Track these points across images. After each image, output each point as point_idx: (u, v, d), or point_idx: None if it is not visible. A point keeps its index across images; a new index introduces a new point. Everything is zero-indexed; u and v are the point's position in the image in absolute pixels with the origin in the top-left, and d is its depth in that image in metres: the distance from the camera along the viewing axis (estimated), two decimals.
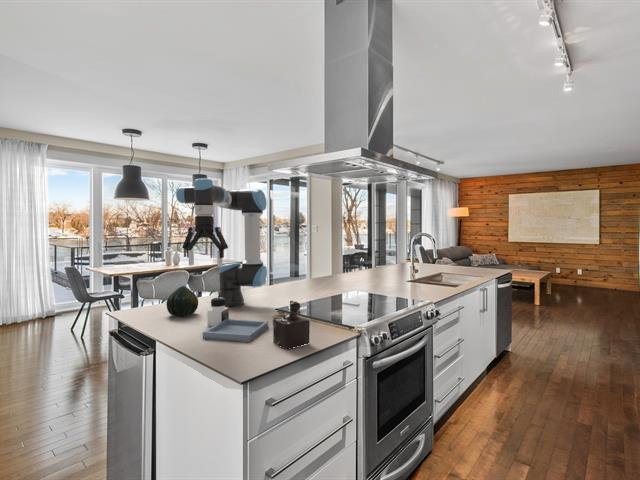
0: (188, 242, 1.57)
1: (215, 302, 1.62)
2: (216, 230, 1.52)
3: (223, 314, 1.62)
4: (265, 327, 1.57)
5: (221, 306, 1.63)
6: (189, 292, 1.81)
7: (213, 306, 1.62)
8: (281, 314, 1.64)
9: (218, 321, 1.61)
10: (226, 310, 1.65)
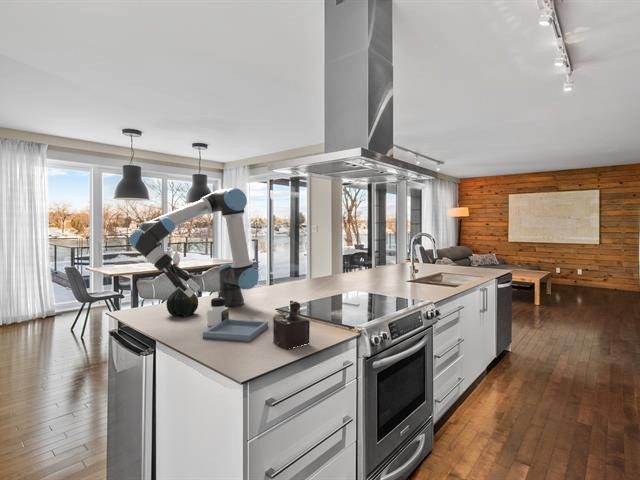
0: None
1: (215, 302, 1.62)
2: None
3: (223, 314, 1.62)
4: (265, 327, 1.57)
5: (221, 306, 1.63)
6: None
7: (213, 306, 1.62)
8: (281, 314, 1.64)
9: (218, 321, 1.61)
10: (226, 310, 1.65)
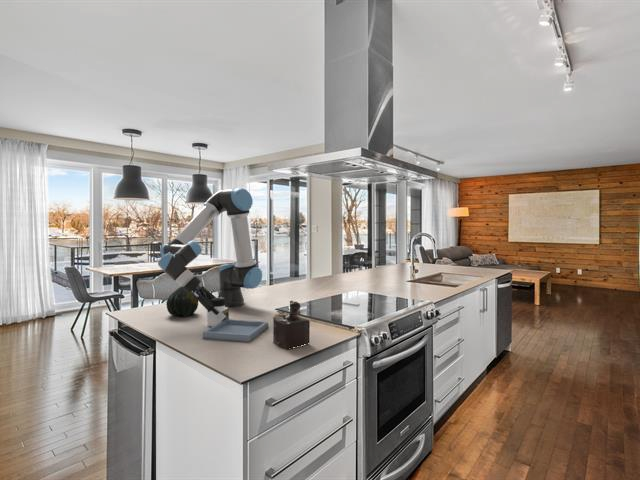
0: None
1: (215, 302, 1.62)
2: None
3: None
4: (265, 327, 1.57)
5: (221, 306, 1.63)
6: None
7: None
8: (281, 314, 1.64)
9: (218, 321, 1.61)
10: (226, 310, 1.65)
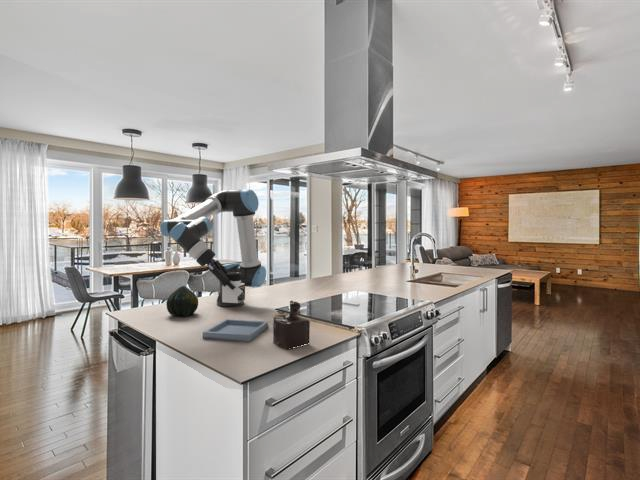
0: None
1: (231, 276, 1.49)
2: None
3: None
4: (265, 327, 1.57)
5: (237, 281, 1.49)
6: (189, 292, 1.81)
7: None
8: (281, 314, 1.64)
9: (234, 297, 1.48)
10: (242, 286, 1.52)
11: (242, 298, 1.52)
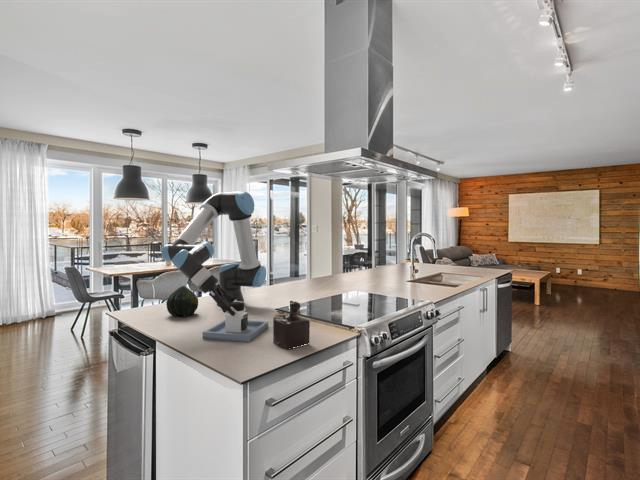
0: None
1: (234, 306, 1.49)
2: None
3: (243, 319, 1.50)
4: (265, 327, 1.57)
5: (240, 311, 1.50)
6: (189, 292, 1.81)
7: None
8: (281, 314, 1.64)
9: (237, 327, 1.49)
10: (245, 315, 1.53)
11: (245, 327, 1.52)
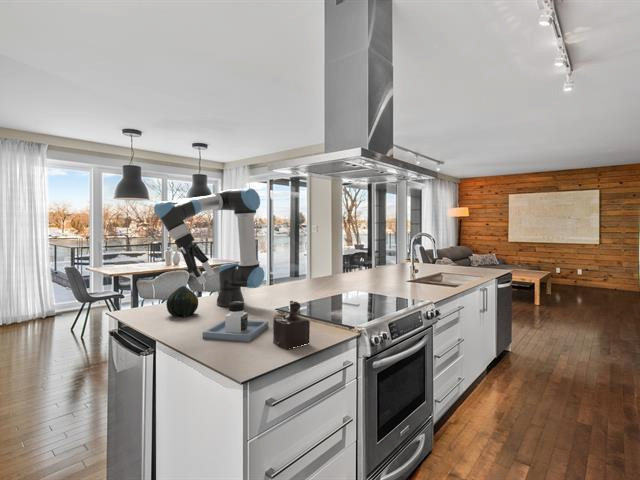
0: None
1: (234, 307, 1.49)
2: None
3: (242, 320, 1.50)
4: (265, 327, 1.57)
5: (240, 311, 1.50)
6: (189, 292, 1.81)
7: (232, 311, 1.50)
8: (281, 314, 1.64)
9: (237, 327, 1.49)
10: (245, 315, 1.53)
11: (245, 327, 1.52)
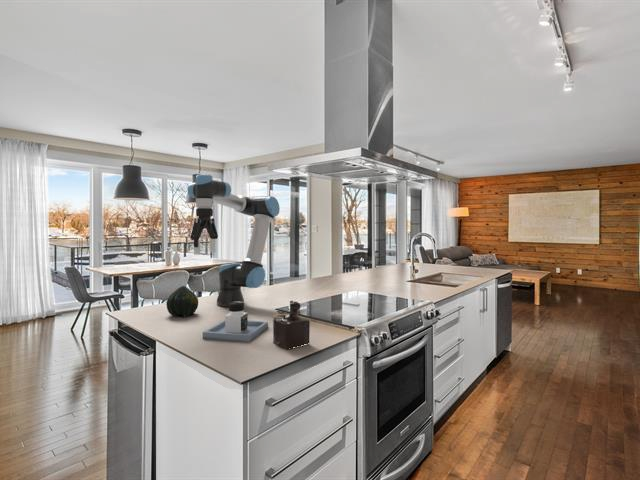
0: None
1: (234, 307, 1.49)
2: None
3: (242, 320, 1.50)
4: (265, 327, 1.57)
5: (240, 311, 1.50)
6: (189, 292, 1.81)
7: (232, 311, 1.50)
8: (281, 314, 1.64)
9: (237, 327, 1.49)
10: (245, 315, 1.53)
11: (245, 327, 1.52)
